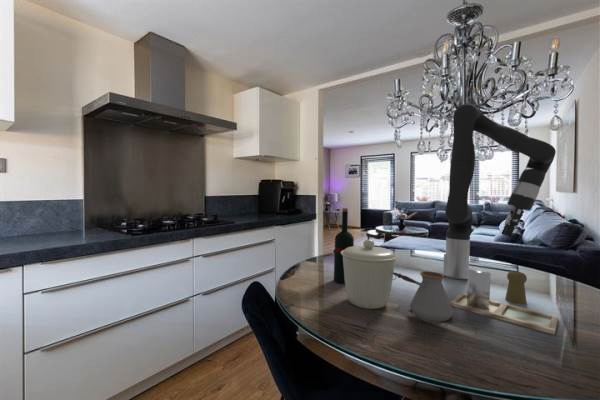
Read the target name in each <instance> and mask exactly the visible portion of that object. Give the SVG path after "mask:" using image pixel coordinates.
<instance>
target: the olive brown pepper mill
mask: <svg viewBox="0 0 600 400" xmlns="http://www.w3.org/2000/svg"><path fill="white" fill-rule="evenodd" d="M506 278H507V280H508V283H507V285H508V286H507V287H506V288H507V289H506V293H505V301H507V302H508V303H510V304H516V305H527V303H528V302H527V296H526V288H525V284H526V282H527V274H525V273H523V272H520V271H516V270H515V271H511V270H510V271H508V272H507V275H506Z"/></svg>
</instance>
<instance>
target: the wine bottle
mask: <svg viewBox="0 0 600 400" xmlns="http://www.w3.org/2000/svg"><path fill="white" fill-rule="evenodd" d="M341 209H342V211H341V212H342V213H341V214H342V216H341V217H342V218H341V231H339V232H338V233H337V234H336V235H335V236H334V255H333V256H334V263H333V282H334V283H335V284H339V285H345V278H344V265H343V256H342V255H341V251H343V250H345V249H346V248H348V247H352V246H355V245H354V244H355V239H354V238H355V237H354V236H353V235H352V233H351V232H349V231H348V218H349V215H348V214H349V208H345V207H344V208H341Z"/></svg>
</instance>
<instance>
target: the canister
mask: <svg viewBox="0 0 600 400" xmlns="http://www.w3.org/2000/svg"><path fill="white" fill-rule="evenodd" d="M341 255H342V256H343V265H344V278H345V284H344V285H345V294H346V298H347V300H348V301H349V302H350V304H351V305H354V306H356V307H359V308H363V309H369V310H373V309H374V310H376V309H382V308H384V307H385V306H387V304H388V303H389V301H390V297H391V292H392V286H393V280H392V279H394V274H391V273H395V265H396V260H398V255H397V254H396V253H395V252H393V251H392V250H390V249H388V248H385V247H380V246H379V247H378V246H375V242H374V240H372V239H370V238H369V239H364V241H363V245H354V246H352V247H348V248H346V249H345V250H343V251H341ZM390 274H391V275H390ZM390 277H391V279H390Z"/></svg>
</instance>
